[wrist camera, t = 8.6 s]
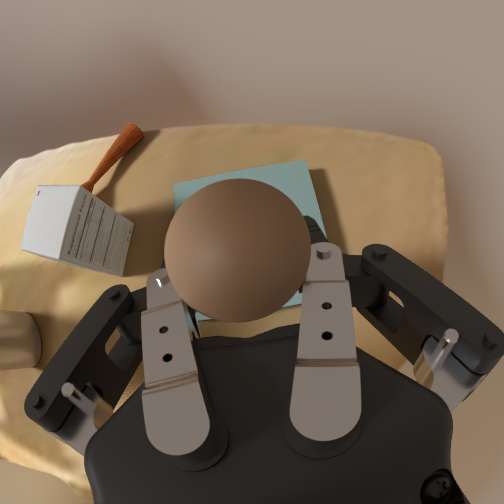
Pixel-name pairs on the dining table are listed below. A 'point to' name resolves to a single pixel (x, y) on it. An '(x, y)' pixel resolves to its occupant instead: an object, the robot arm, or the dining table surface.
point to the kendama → (115, 153)
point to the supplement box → (77, 229)
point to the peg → (237, 250)
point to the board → (278, 175)
